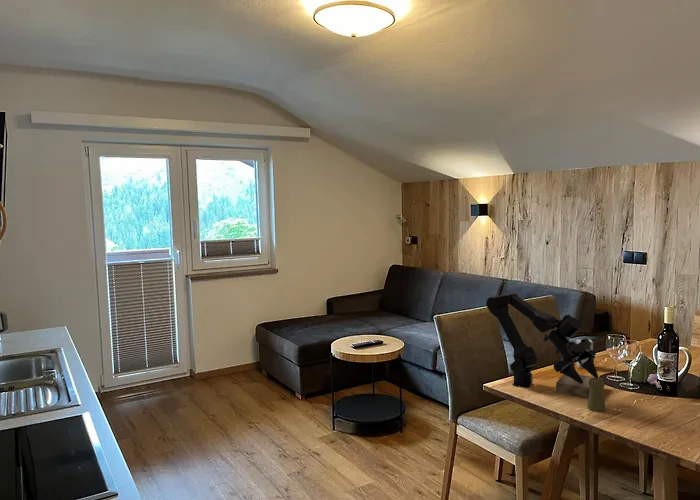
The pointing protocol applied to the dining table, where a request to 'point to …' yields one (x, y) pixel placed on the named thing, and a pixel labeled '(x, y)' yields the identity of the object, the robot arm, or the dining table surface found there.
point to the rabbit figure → (654, 380)
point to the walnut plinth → (574, 386)
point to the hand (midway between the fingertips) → (589, 380)
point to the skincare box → (583, 351)
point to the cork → (596, 395)
